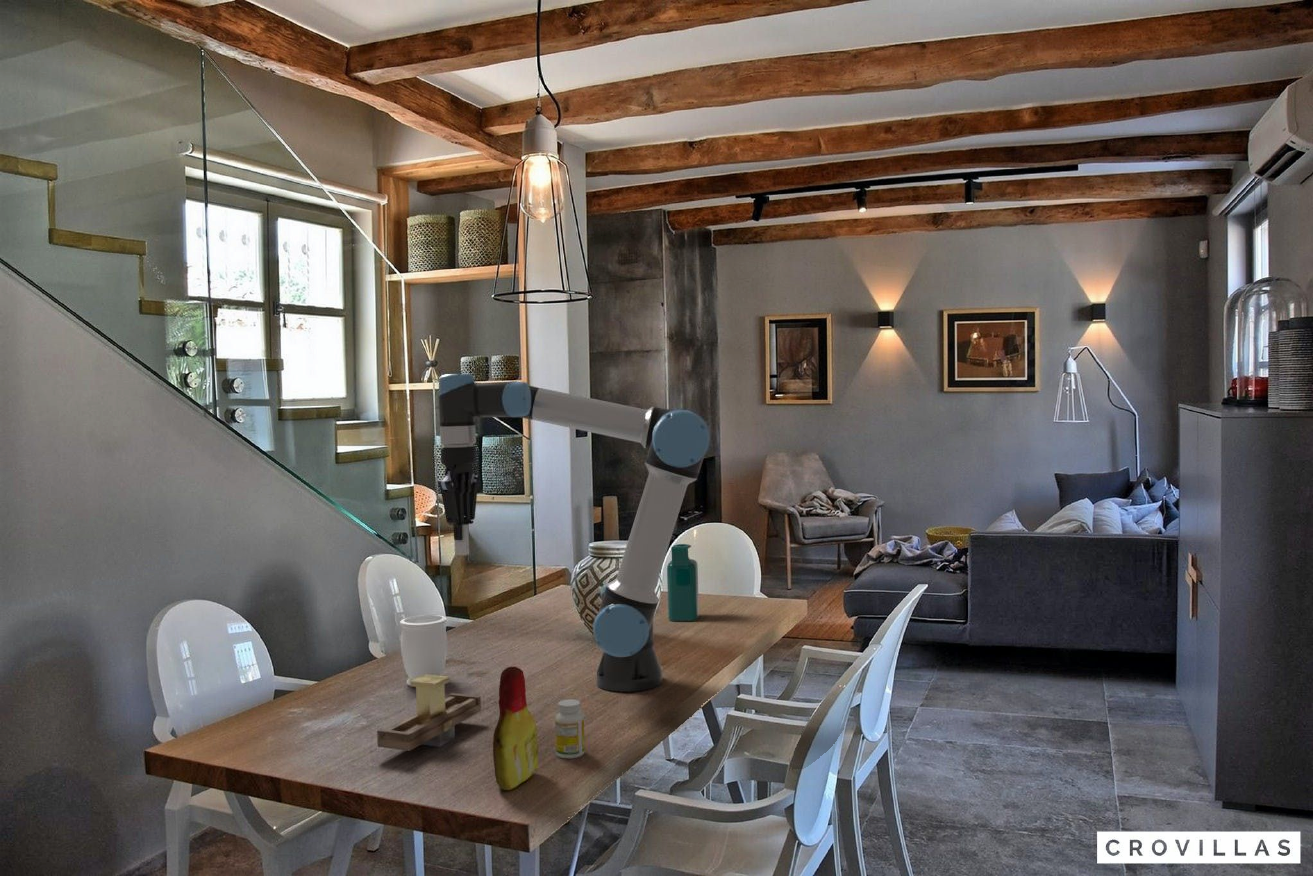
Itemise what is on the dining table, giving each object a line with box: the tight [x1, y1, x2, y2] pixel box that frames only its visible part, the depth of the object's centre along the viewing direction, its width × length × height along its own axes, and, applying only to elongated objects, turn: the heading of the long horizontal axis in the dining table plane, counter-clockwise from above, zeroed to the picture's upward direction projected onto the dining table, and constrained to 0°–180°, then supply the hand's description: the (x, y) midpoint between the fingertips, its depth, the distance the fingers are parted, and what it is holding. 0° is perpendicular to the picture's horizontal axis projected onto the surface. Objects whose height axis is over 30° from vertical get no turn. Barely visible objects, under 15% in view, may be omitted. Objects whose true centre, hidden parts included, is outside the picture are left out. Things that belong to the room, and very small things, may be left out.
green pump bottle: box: [666, 543, 700, 622], centre depth 292 cm, size 10×8×22 cm
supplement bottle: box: [554, 698, 586, 759], centre depth 184 cm, size 5×5×10 cm
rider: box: [409, 674, 451, 724], centre depth 193 cm, size 5×6×8 cm
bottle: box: [492, 666, 539, 791], centre depth 171 cm, size 12×6×20 cm, turn 163°
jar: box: [399, 614, 448, 686], centre depth 233 cm, size 11×10×15 cm
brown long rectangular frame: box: [376, 693, 482, 752], centre depth 193 cm, size 24×8×6 cm, turn 158°
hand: (462, 554), depth 216 cm, fingers closed
